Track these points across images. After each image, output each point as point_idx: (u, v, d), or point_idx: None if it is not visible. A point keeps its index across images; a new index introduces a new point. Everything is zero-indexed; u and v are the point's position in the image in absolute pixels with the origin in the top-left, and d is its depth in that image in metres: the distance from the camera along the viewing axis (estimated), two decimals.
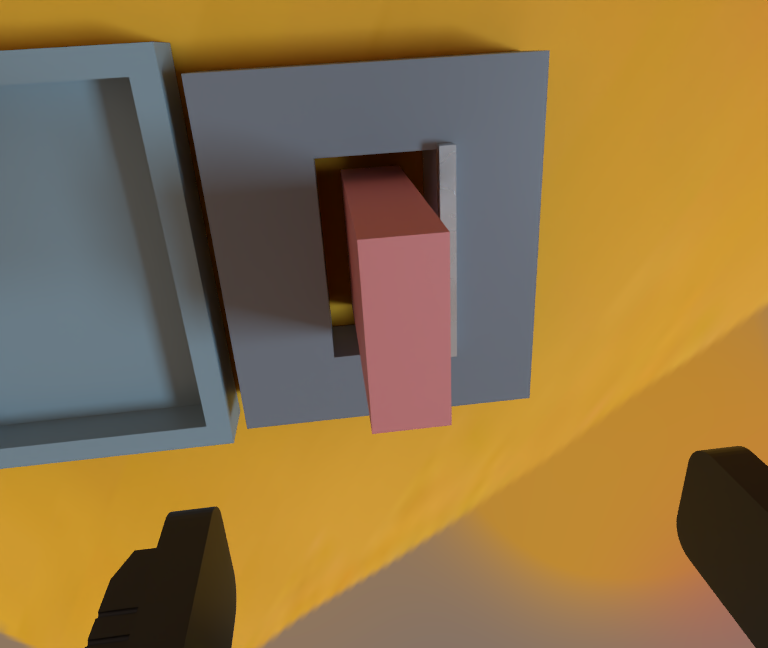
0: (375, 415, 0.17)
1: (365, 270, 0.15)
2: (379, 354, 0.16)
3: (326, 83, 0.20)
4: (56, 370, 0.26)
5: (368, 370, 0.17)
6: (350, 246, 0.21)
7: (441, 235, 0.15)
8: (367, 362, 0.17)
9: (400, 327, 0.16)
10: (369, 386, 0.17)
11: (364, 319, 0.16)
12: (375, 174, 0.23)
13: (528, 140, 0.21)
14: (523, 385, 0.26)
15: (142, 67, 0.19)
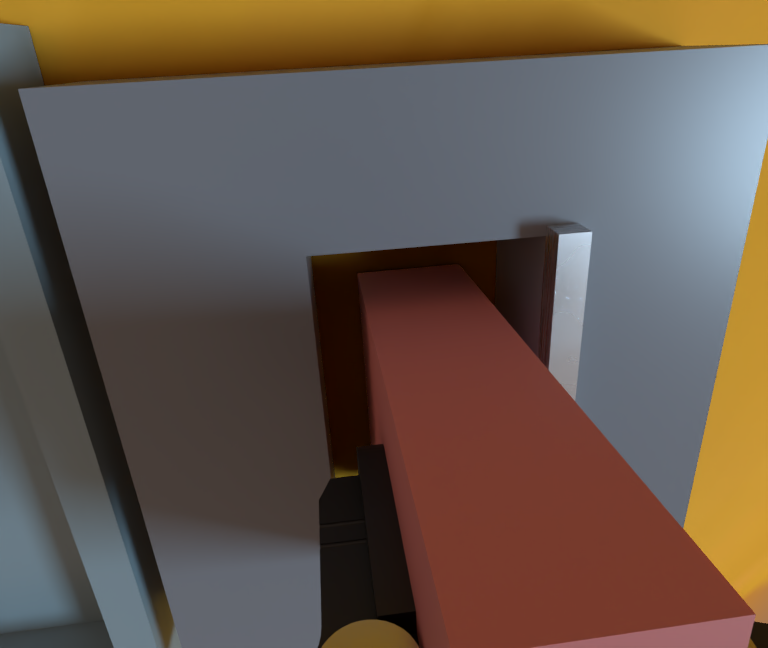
0: None
1: None
2: None
3: (333, 109, 0.09)
4: None
5: None
6: None
7: (728, 626, 0.05)
8: None
9: None
10: None
11: None
12: (424, 289, 0.12)
13: (721, 216, 0.11)
14: None
15: None
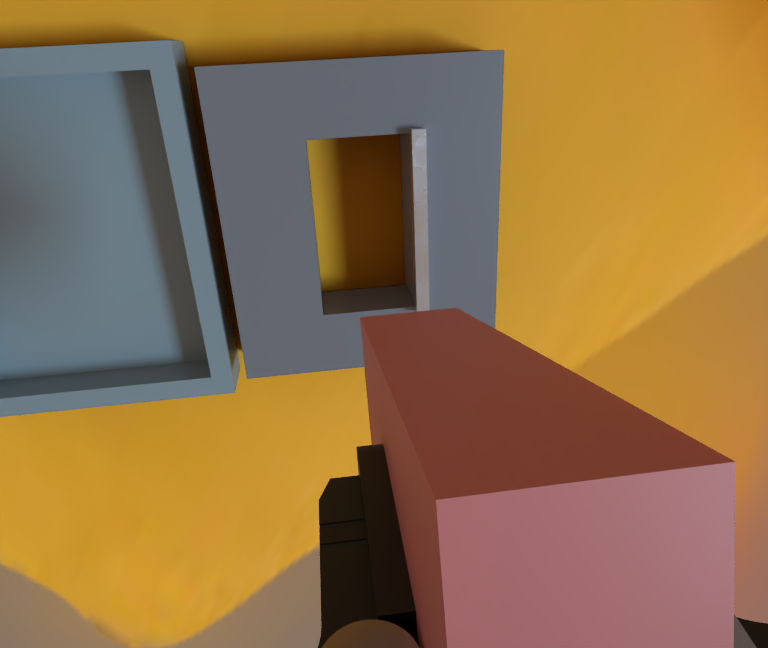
0: None
1: (462, 600, 0.05)
2: None
3: (316, 76, 0.23)
4: (79, 328, 0.29)
5: None
6: None
7: (709, 474, 0.05)
8: None
9: None
10: None
11: None
12: (422, 321, 0.13)
13: (488, 125, 0.25)
14: None
15: (161, 61, 0.23)
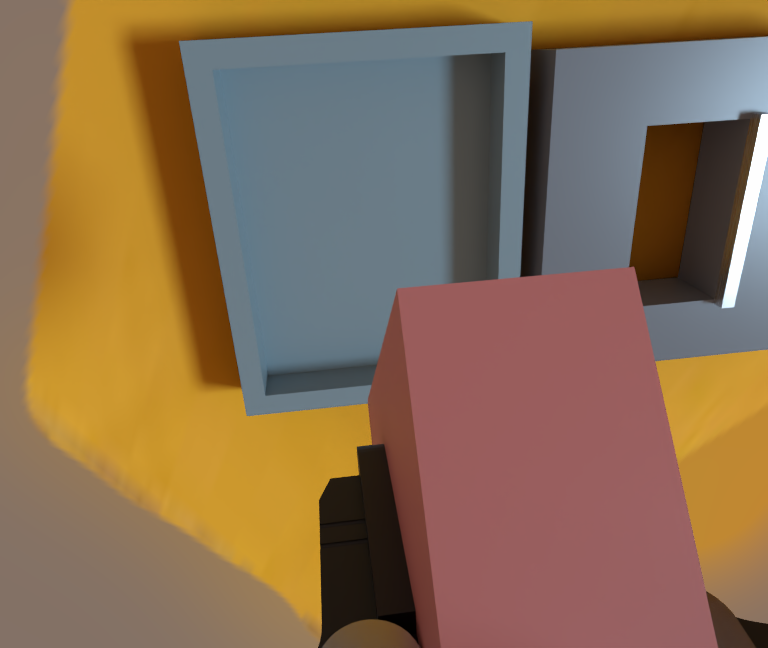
0: None
1: (422, 374, 0.06)
2: None
3: (673, 58, 0.23)
4: (358, 321, 0.28)
5: None
6: None
7: (614, 275, 0.06)
8: None
9: (542, 558, 0.05)
10: None
11: (429, 530, 0.05)
12: None
13: None
14: None
15: (518, 44, 0.22)
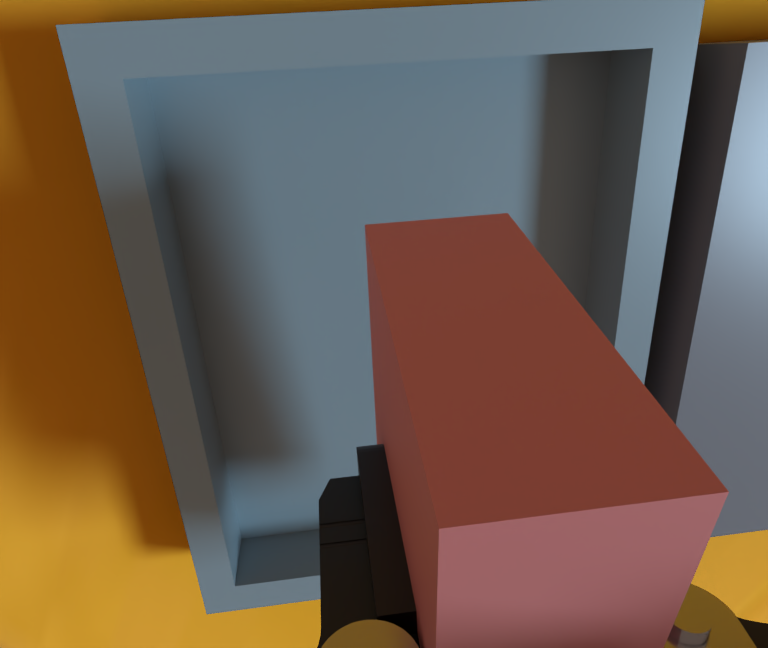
0: (438, 462, 0.05)
1: (379, 246, 0.09)
2: (423, 335, 0.07)
3: None
4: None
5: (401, 365, 0.06)
6: None
7: (496, 214, 0.10)
8: (397, 356, 0.07)
9: (462, 298, 0.07)
10: (408, 398, 0.06)
11: (383, 291, 0.08)
12: None
13: None
14: None
15: (677, 33, 0.12)
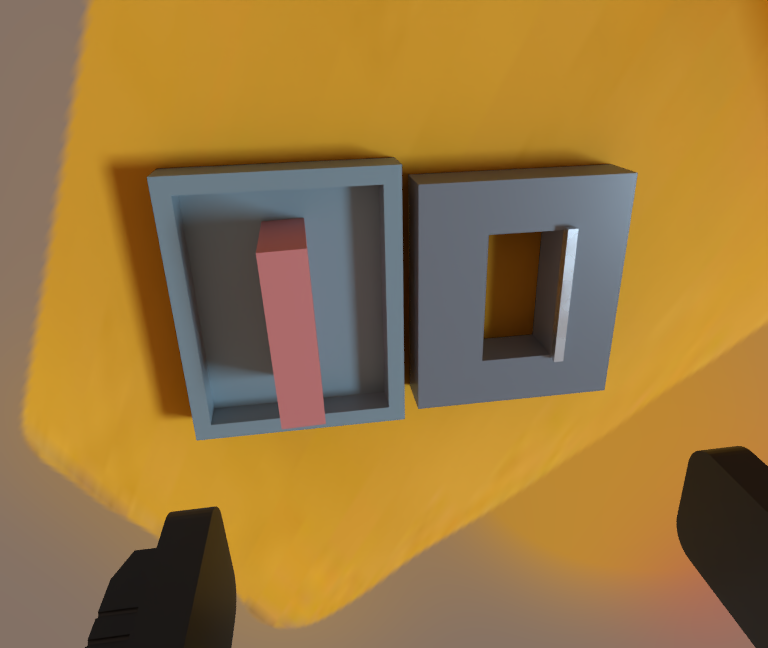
0: (259, 248, 0.28)
1: (263, 225, 0.32)
2: (265, 237, 0.30)
3: (503, 190, 0.32)
4: None
5: (258, 240, 0.30)
6: None
7: (300, 218, 0.33)
8: (258, 240, 0.30)
9: (278, 232, 0.31)
10: (258, 244, 0.29)
11: (260, 231, 0.31)
12: None
13: (620, 224, 0.34)
14: (601, 381, 0.38)
15: (392, 179, 0.31)
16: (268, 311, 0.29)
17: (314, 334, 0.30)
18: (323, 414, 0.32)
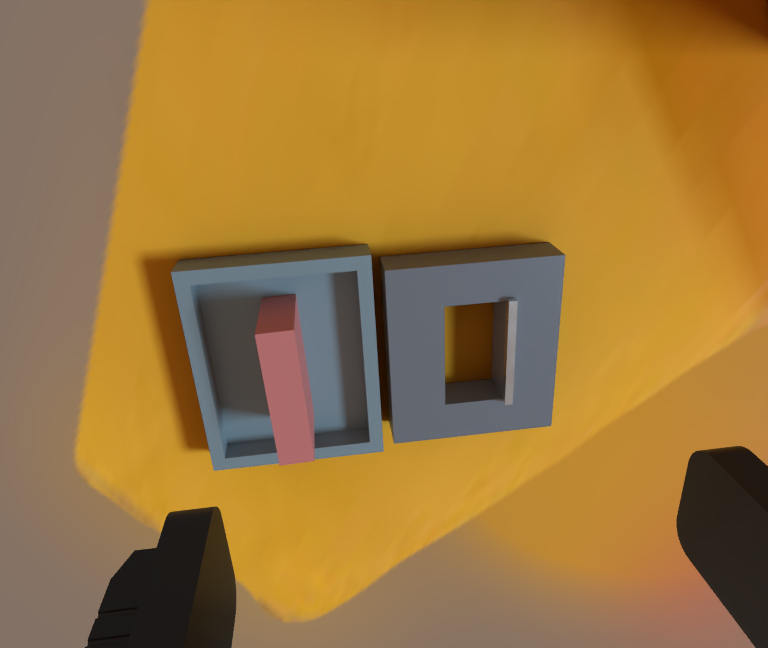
0: (257, 329, 0.36)
1: (263, 302, 0.40)
2: (263, 316, 0.38)
3: (454, 272, 0.40)
4: None
5: (257, 320, 0.38)
6: None
7: (292, 294, 0.41)
8: (258, 319, 0.38)
9: (274, 310, 0.39)
10: (257, 324, 0.37)
11: (259, 310, 0.39)
12: None
13: (553, 295, 0.41)
14: (547, 419, 0.46)
15: (364, 266, 0.39)
16: (265, 376, 0.37)
17: (302, 393, 0.38)
18: (312, 453, 0.40)
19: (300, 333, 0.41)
